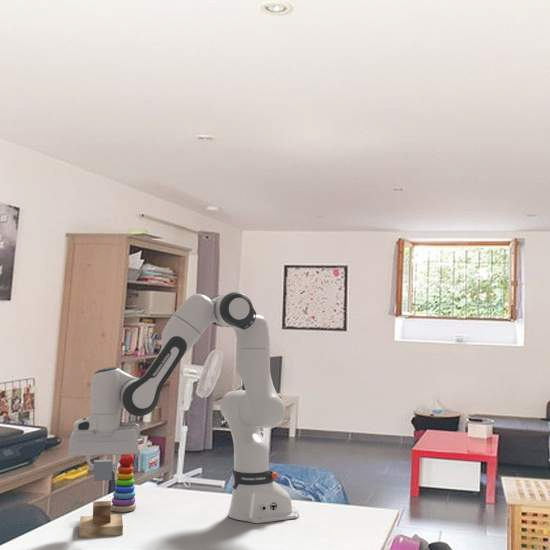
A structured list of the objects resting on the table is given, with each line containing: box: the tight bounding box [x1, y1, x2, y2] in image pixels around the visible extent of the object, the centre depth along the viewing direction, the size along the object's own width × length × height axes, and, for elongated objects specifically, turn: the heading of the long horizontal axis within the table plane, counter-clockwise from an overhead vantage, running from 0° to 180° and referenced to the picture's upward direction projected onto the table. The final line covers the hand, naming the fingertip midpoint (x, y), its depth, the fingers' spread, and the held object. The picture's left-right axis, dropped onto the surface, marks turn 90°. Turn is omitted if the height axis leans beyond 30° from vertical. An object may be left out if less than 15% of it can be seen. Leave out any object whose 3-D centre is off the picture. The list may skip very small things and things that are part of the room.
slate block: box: [92, 459, 113, 482], centre depth 189 cm, size 5×5×5 cm
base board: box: [78, 513, 124, 538], centre depth 187 cm, size 12×12×2 cm
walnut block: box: [92, 500, 112, 524], centre depth 187 cm, size 5×5×5 cm
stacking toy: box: [111, 454, 137, 513], centre depth 209 cm, size 8×8×19 cm
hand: (102, 470), depth 188 cm, fingers closed on slate block, 5 cm apart
